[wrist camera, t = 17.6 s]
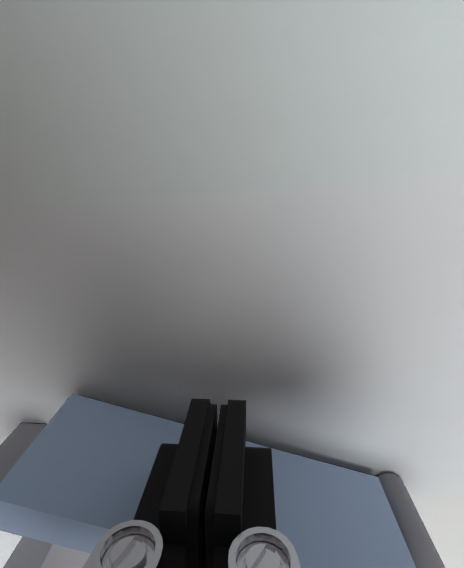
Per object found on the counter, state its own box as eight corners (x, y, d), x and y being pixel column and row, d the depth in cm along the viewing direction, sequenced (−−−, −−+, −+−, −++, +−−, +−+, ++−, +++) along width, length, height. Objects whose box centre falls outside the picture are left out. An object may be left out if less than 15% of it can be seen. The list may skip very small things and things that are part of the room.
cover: (395, 500, 15) (465, 656, 10) (71, 412, 14) (-18, 532, 10) (408, 477, 15) (485, 627, 10) (76, 386, 14) (-14, 497, 9)
